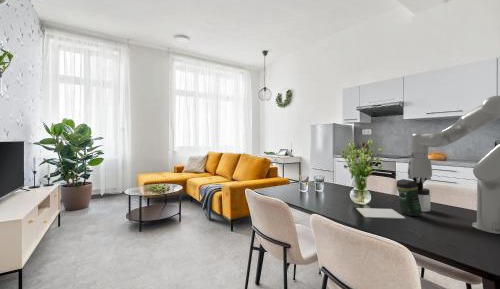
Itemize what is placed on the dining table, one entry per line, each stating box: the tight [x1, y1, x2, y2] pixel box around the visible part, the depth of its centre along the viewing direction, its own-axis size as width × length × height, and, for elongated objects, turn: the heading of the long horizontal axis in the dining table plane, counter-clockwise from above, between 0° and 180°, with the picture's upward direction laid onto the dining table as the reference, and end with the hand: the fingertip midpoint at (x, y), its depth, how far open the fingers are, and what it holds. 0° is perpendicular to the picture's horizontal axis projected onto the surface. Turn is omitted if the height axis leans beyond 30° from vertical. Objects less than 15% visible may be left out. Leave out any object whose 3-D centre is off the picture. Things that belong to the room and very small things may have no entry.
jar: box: [418, 187, 431, 213], centre depth 137 cm, size 9×8×12 cm
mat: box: [355, 207, 407, 220], centre depth 131 cm, size 16×20×1 cm
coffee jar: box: [396, 178, 422, 217], centre depth 128 cm, size 10×8×19 cm
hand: (419, 189), depth 128 cm, fingers closed
